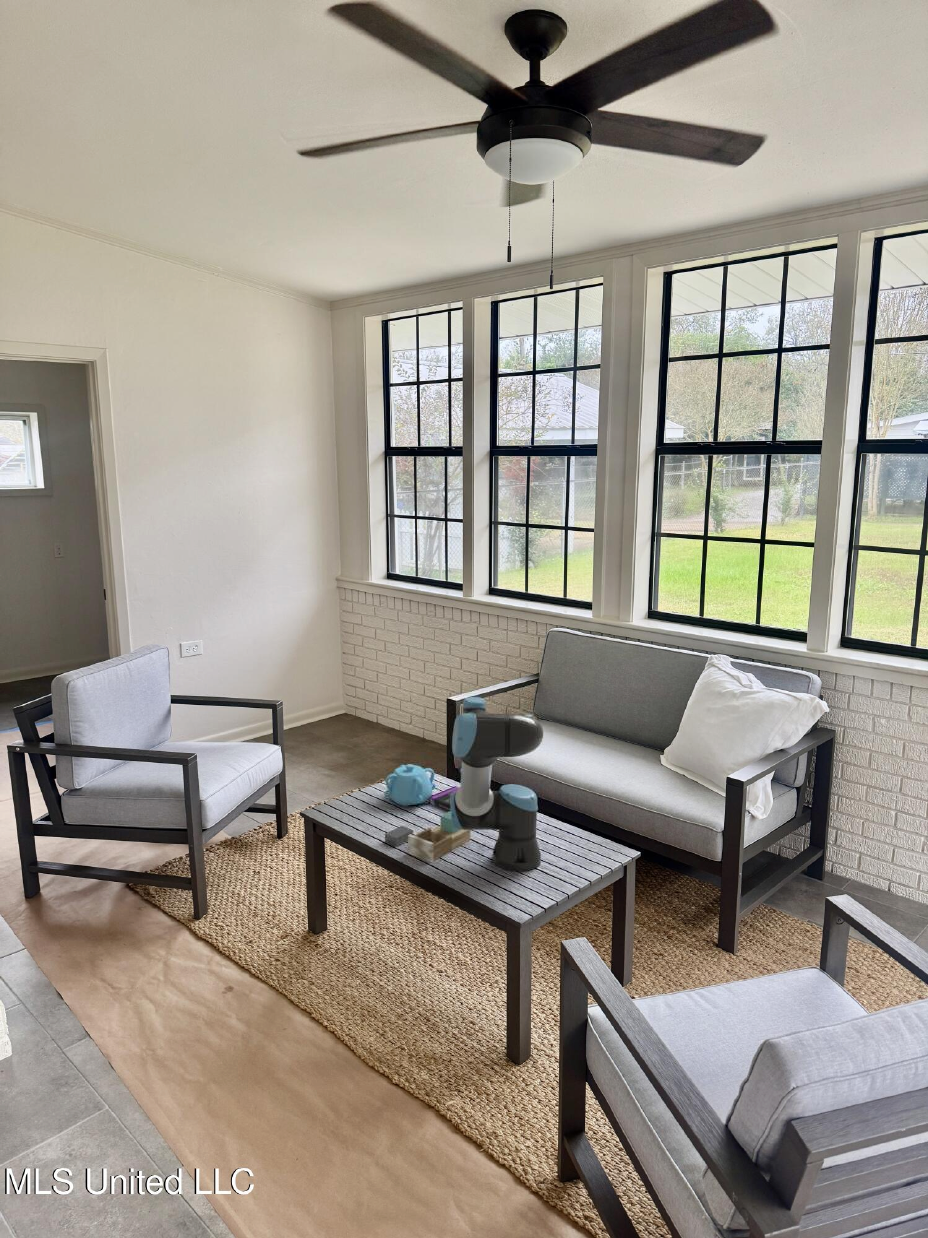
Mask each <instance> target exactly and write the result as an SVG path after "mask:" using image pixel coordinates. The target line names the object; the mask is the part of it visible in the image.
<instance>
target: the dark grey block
mask: <svg viewBox="0 0 928 1238" xmlns="http://www.w3.org/2000/svg"><path fill="white" fill-rule="evenodd" d="M410 834H411V835H414V830H413V829H411V828H409V827H406V826H405V825H404V826H403V825H401V826H399V827H397V828H394V829H392V830H390V831H388V832H386V833H385V834H384V843H386V844H388V845H390V846H393V847H395V848H397V847H399V846H401V845H403V844H405V843H408V835H410Z"/></svg>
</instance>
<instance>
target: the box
mask: <svg viewBox="0 0 928 1238" xmlns="http://www.w3.org/2000/svg"><path fill="white" fill-rule="evenodd" d="M459 787H460V786H456V785H454V786H452V787H450V788H447V789H445V790H443V791H440V792H437V793H435V794H432V795H431V797H430V798H429V800H428V801H427V803H428V804H429V805H432V806H434V807H437V808H439V809H441V810H444V811H445V812H450V811H451V804H450V800H451V793H452V792H453V791H456V790H458V789H459Z"/></svg>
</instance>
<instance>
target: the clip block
mask: <svg viewBox="0 0 928 1238" xmlns="http://www.w3.org/2000/svg"><path fill="white" fill-rule="evenodd" d="M439 826H440V829H442V830H445V831H448V832H450V833H453V834H454V833H456V832H458V831H459V830H461V829H456V828H454V827H453V824H452V819H451V811H450V812H448V811H446V813H444V814H441V815H440V825H439Z"/></svg>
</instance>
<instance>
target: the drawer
mask: <svg viewBox="0 0 928 1238" xmlns="http://www.w3.org/2000/svg"><path fill="white" fill-rule="evenodd" d="M471 831H472V830H463V829H461V830H459V831H458V832H456V833H454V834H453V833H450V832H448V831H445V830H442V829H440V825H439V826H437V827H435V828H432V827H428V828H425V829H424V830H422V831H420V832H418V833H416V834H413V835H411V834H410V835H408V841H407V854H409V855H411V856H413V857H414V856H415V857H416V858H419V859H421V860H424V861H426V862H428V863H433V862H434V861H436V860H438V859H439V858H442V857H444V856H446V855H447V854H449V853H451V852H452V851H454V850H455V849H457V848H458V847H460V846H462V845H464V844H466V843H467V842H469V841H471Z"/></svg>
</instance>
